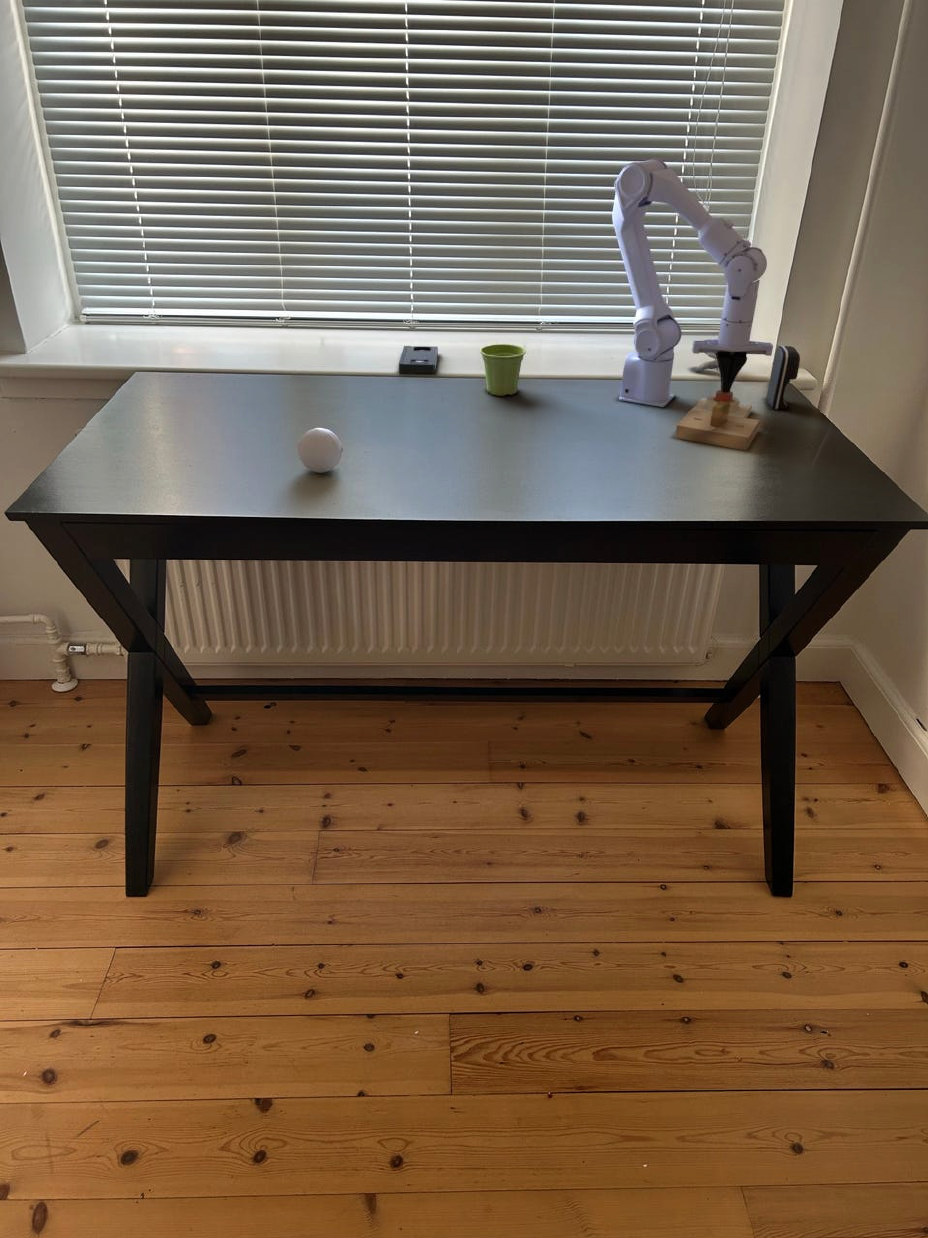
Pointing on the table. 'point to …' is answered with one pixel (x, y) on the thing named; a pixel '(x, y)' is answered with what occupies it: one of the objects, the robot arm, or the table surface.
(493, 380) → the plant pot
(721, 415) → the thumb turn
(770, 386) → the battery charger
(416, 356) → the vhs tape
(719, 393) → the bell button
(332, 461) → the white ball
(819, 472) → the table surface
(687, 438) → the plate
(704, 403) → the bell block
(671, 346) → the robot arm
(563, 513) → the table surface
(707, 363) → the eagle figurine
